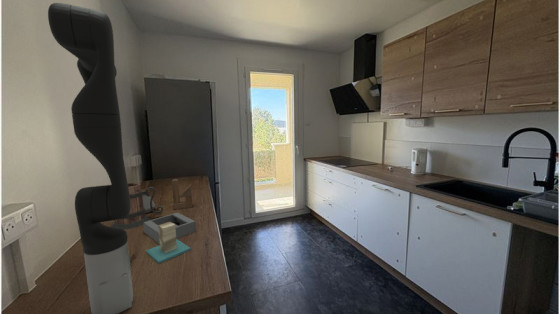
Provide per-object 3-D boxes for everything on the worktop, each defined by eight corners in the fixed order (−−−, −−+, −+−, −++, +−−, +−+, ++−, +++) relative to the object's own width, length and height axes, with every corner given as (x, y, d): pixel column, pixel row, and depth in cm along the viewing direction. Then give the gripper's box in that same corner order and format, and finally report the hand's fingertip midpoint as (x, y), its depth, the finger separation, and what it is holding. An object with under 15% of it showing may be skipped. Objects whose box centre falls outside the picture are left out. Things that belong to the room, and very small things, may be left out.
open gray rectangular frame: (195, 231, 106) (195, 221, 106) (160, 244, 94) (159, 233, 94) (178, 221, 118) (177, 212, 118) (144, 232, 106) (143, 222, 106)
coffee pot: (154, 213, 131) (151, 188, 129) (131, 216, 127) (128, 190, 125) (159, 202, 151) (158, 180, 149) (140, 204, 147) (137, 182, 145)
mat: (190, 249, 90) (190, 248, 90) (158, 263, 81) (158, 261, 81) (176, 240, 98) (176, 238, 98) (146, 252, 89) (146, 250, 89)
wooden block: (192, 207, 140) (190, 178, 138) (173, 210, 136) (171, 180, 134) (192, 205, 143) (190, 177, 141) (173, 208, 139) (171, 179, 137)
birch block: (177, 248, 89) (175, 224, 88) (165, 253, 86) (163, 228, 85) (171, 245, 92) (170, 221, 91) (160, 249, 89) (158, 225, 88)
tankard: (107, 232, 107) (103, 191, 104) (114, 220, 122) (110, 183, 119) (163, 222, 117) (160, 185, 115) (163, 212, 132) (160, 178, 130)
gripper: (85, 117, 83) (90, 161, 85) (93, 115, 73) (99, 164, 75) (110, 117, 88) (114, 159, 90) (121, 116, 79) (125, 162, 81)
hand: (107, 161), depth 83 cm, fingers open, 8 cm apart
